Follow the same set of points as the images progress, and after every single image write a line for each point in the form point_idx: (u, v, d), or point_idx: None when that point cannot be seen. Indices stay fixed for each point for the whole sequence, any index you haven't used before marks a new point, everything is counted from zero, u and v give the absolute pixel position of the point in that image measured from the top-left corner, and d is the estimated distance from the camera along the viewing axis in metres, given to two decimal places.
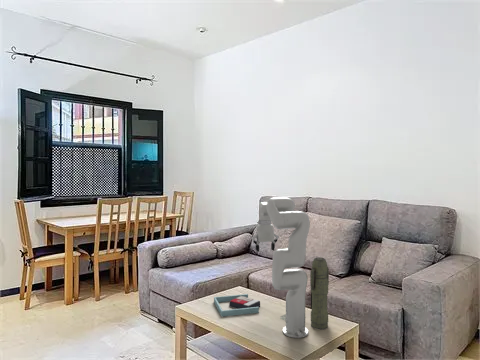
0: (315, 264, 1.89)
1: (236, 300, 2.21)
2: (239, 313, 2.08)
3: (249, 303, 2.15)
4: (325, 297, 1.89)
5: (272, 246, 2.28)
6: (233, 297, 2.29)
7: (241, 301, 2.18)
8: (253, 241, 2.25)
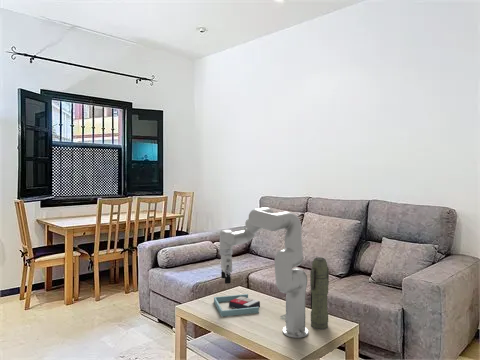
0: (315, 264, 1.89)
1: (236, 300, 2.20)
2: (239, 313, 2.08)
3: (249, 303, 2.15)
4: (325, 297, 1.89)
5: (225, 274, 2.22)
6: (233, 297, 2.29)
7: (241, 301, 2.18)
8: (229, 274, 2.10)
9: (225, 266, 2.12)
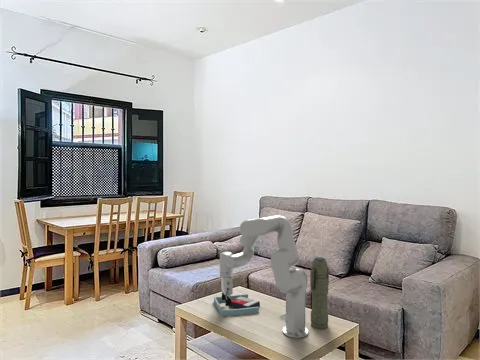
0: (315, 264, 1.89)
1: (236, 300, 2.20)
2: (239, 313, 2.08)
3: (248, 303, 2.14)
4: (325, 297, 1.89)
5: (225, 296, 2.22)
6: (233, 297, 2.29)
7: (241, 301, 2.18)
8: (230, 296, 2.10)
9: (225, 289, 2.12)
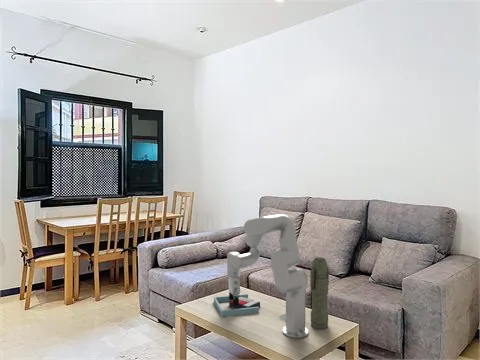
0: (315, 264, 1.89)
1: None
2: (239, 313, 2.08)
3: (249, 304, 2.14)
4: (325, 297, 1.89)
5: (233, 295, 2.23)
6: None
7: (241, 302, 2.17)
8: (237, 296, 2.11)
9: (233, 288, 2.13)
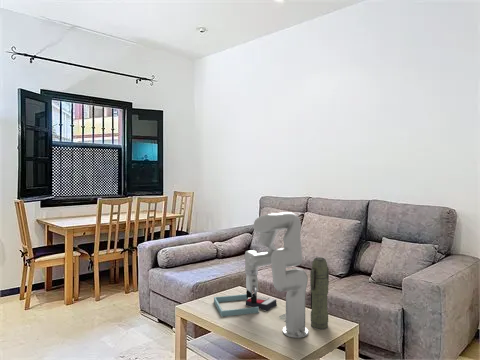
0: (315, 264, 1.89)
1: None
2: (239, 313, 2.08)
3: (266, 302, 2.17)
4: (325, 297, 1.89)
5: (250, 293, 2.26)
6: (233, 297, 2.29)
7: (258, 300, 2.20)
8: (256, 294, 2.14)
9: (251, 286, 2.16)
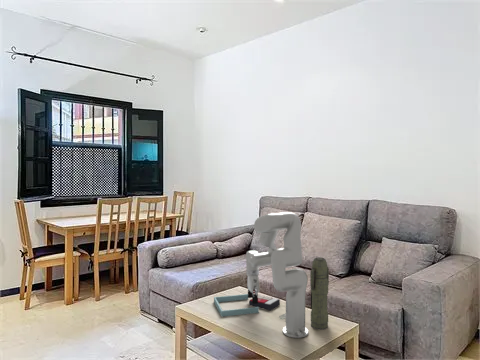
0: (315, 264, 1.89)
1: None
2: (239, 313, 2.08)
3: (270, 302, 2.17)
4: (325, 297, 1.89)
5: (251, 293, 2.26)
6: (233, 297, 2.29)
7: (261, 300, 2.20)
8: (257, 294, 2.14)
9: (252, 286, 2.16)
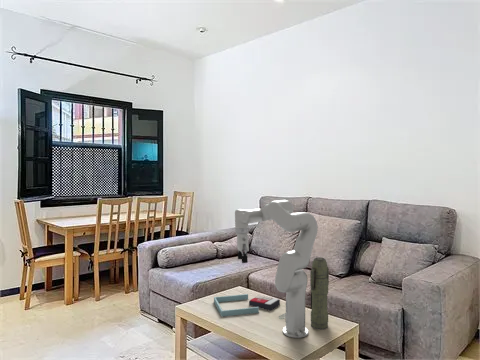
0: (315, 264, 1.89)
1: (256, 299, 2.22)
2: (239, 313, 2.08)
3: (270, 302, 2.17)
4: (325, 297, 1.89)
5: (241, 255, 2.18)
6: (233, 297, 2.29)
7: (261, 300, 2.20)
8: (246, 252, 2.06)
9: (241, 245, 2.08)
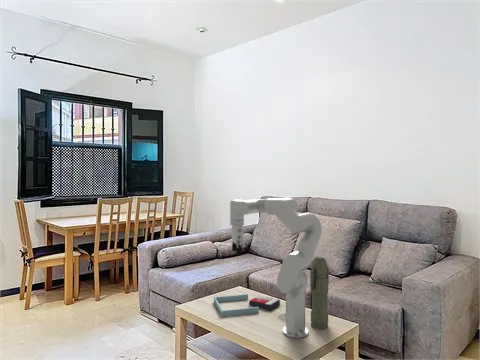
0: (315, 264, 1.89)
1: (256, 299, 2.21)
2: (239, 313, 2.08)
3: (270, 302, 2.17)
4: (325, 297, 1.89)
5: (236, 246, 2.12)
6: (233, 297, 2.29)
7: (261, 300, 2.19)
8: (241, 244, 2.00)
9: (236, 237, 2.02)
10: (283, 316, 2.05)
